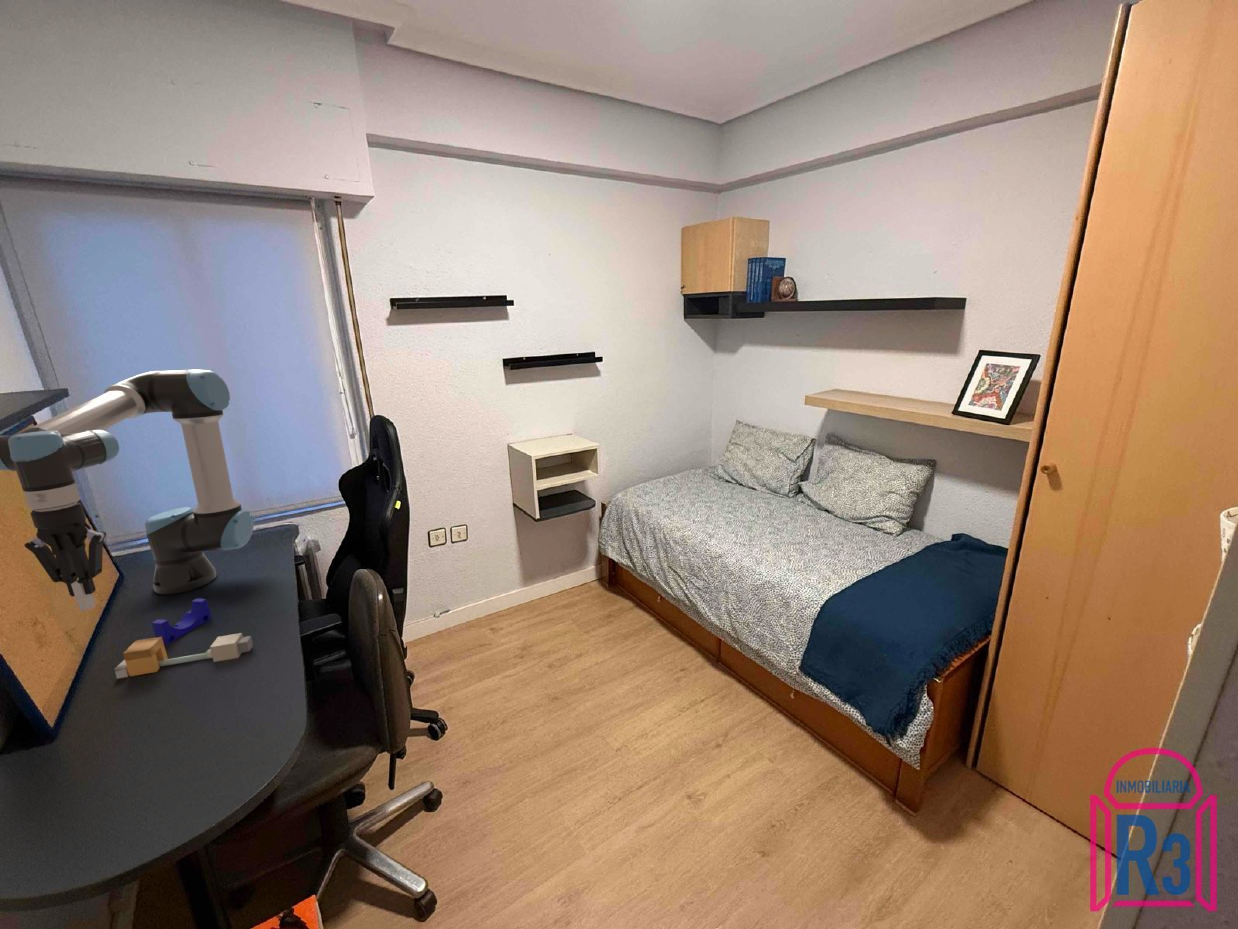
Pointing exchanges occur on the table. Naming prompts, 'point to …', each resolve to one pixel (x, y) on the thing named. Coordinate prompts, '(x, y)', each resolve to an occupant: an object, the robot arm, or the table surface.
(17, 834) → the table surface
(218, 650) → the cord run
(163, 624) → the cable clip
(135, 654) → the sleeve
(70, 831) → the table surface
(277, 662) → the table surface
